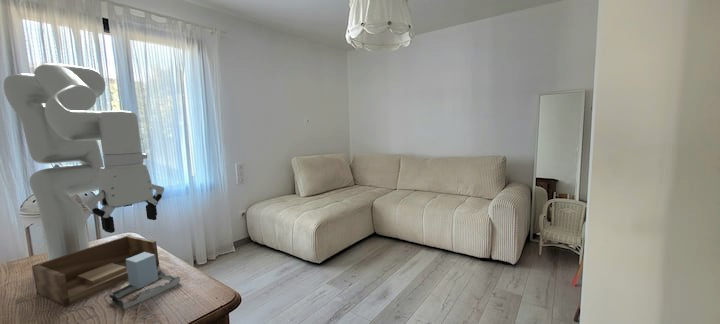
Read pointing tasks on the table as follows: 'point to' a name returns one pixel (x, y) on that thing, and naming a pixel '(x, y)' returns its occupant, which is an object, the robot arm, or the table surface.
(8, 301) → the table surface
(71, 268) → the crate
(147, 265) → the block
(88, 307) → the table surface
